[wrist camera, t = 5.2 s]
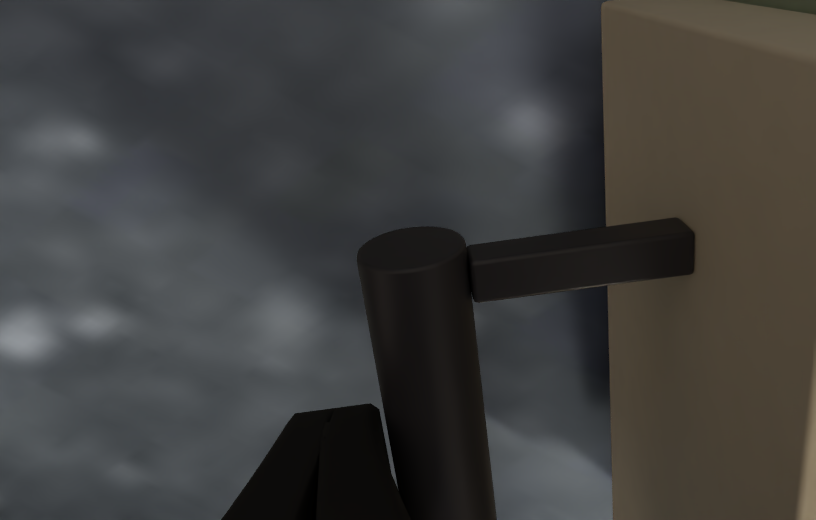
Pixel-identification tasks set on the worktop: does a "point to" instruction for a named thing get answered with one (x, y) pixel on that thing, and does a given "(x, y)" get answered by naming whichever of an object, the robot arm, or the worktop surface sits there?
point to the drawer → (644, 282)
